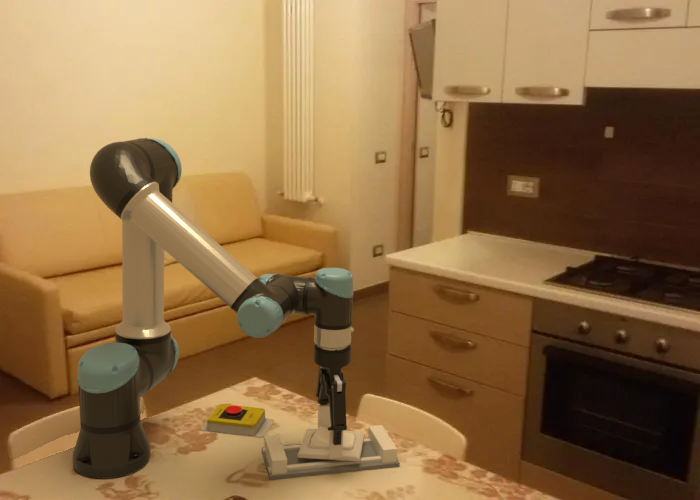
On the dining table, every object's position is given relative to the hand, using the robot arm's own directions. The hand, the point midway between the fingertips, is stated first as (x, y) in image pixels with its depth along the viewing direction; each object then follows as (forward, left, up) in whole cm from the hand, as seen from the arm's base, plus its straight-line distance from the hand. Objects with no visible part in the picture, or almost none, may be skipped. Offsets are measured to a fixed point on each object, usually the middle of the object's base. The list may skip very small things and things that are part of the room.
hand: (329, 444), depth 156 cm
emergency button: (-17, +19, -4) cm, 26 cm away
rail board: (0, 0, -3) cm, 3 cm away
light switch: (+1, +1, -1) cm, 2 cm away
